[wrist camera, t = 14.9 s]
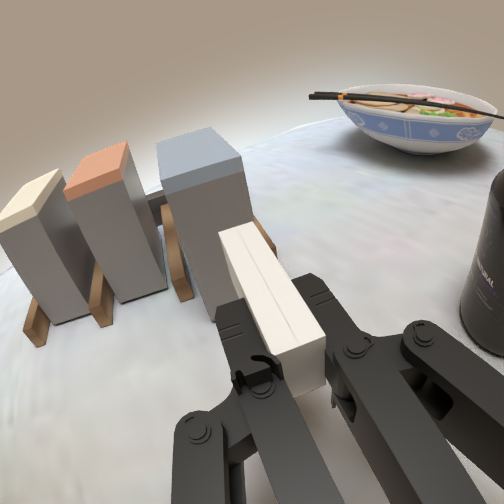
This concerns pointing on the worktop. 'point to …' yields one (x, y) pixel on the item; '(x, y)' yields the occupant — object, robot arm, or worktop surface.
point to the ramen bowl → (415, 116)
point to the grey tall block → (48, 248)
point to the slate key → (205, 205)
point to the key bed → (103, 292)
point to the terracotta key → (117, 222)
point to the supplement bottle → (488, 277)
